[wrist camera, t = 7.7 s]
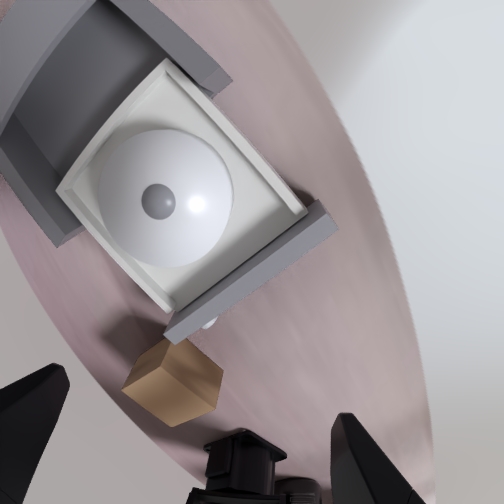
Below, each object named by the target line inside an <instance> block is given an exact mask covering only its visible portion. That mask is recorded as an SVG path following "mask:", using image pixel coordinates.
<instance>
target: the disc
mask: <svg viewBox="0 0 504 504" xmlns="http://www.w3.org/2000/svg"><path fill="white" fill-rule="evenodd" d="M98 200H99V208H100V212H101V216H102V219H103V222H104V224H105V226H106V228H107V230H108V232H109V234H110V235H111V237H112V238H113V240H114V241H115V242H116V243H117V245H118V246H119V247H121V248H122V249H123V250H124V251H125V252H126V253H127V254H129V255H130V256H132V257H133V258H135V259H137V260H139V261H141V262H143V263H146V264H149V265H152V266H157V267H168V268H169V267H179V266H183V265H187V264H189V263H192V262H194V261H196V260H198V259H200V258H201V257H203V256H204V255H205V254H207V253H208V252H209V251H210V250H211V249H212V248H213V247H214V245H215V244H216V243H217V242H218V240H219V238H220V237H221V235H222V233H223V231H224V229H225V227H226V225H227V223H228V221H229V218H230V216H231V212H232V208H233V201H234V190H233V182H232V179H231V175H230V172H229V170H228V167H227V165H226V163H225V162H224V160H223V158H222V157H221V155H220V154H219V153H218V152H217V150H216V149H215V148H214V147H213V146H211V145H210V144H209V143H208V142H206V141H205V140H204V139H202V138H200V137H198V136H197V135H194V134H192V133H189V132H186V131H181V130H172V129H169V130H153V131H147V132H143V133H140V134H137V135H135V136H133V137H131V138H129V139H128V140H126V141H125V142H123V143H122V144H121V145H120V146H119V147H118V148H117V149H116V150H115V151H114V152H113V153H112V155H111V156H110V157H109V159H108V161H107V162H106V164H105V166H104V169H103V171H102V174H101V178H100V182H99V190H98Z"/></svg>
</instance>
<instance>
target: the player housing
mask: <svg viewBox="0 0 504 504" xmlns="http://www.w3.org/2000/svg"><path fill="white" fill-rule="evenodd" d="M165 58H169V59H171V60H173V61H174V62H176V63H177V64H178V65H179V66H180V67H181V68H182V69H183V70H184V71H185V72H186V73H187V74H188V75H189V76H190V77H191V78H192V79H193V80H194V81H195V82H196V83H197V84H198V86H199V87H200V88H201V89H202V90H203V91H204V92H205V93H206V94H207V95H208V96H209V97H210V98H211V99H212V98H213V97H215V96H216V95H217V94H218V93H219V92H220V91H221V90H223V89H224V88H225V87H226V86H227V85H229V84H230V83H231V82H232V81H233V80H232V79H231V78H230V76H229V75H228V74H227V73H226V72H225V71H224V70H223V69H222V68H221V66H220V65H219V64H218V63H217V62H216V61H215V60H214V59H213V58H212V57H211V56H209V55H208V54H207V53H206V52H205V51H204V50H203V49H202V48H201V47H200V46H199V45H198V44H197V43H196V42H195V41H194V40H193V39H192V38H191V37H190V36H188V35H187V34H186V33H185V32H184V31H183V30H182V29H181V28H180V27H179V26H177V25H176V24H175V23H174V22H173V21H172V20H171V19H170V18H168V17H167V16H166V15H165V14H164V13H163V12H162V11H160V10H159V9H158V8H157V7H156V6H154V5H153V4H152V3H151V2H150V1H148V0H16V1H15V3H14V4H13V5H12V7H11V8H10V9H9V11H8V12H7V14H6V15H5V17H4V18H3V19H2V21H1V22H0V172H1V173H2V175H3V177H4V178H5V180H6V181H7V182H8V184H9V185H10V187H11V188H12V190H13V191H14V193H15V194H16V196H17V197H18V198H19V200H20V201H21V203H22V204H23V205H24V207H25V208H26V209H27V211H28V212H29V213H30V215H31V216H32V217H33V219H34V220H35V221H36V223H37V224H38V225H39V226H40V228H41V229H42V230H43V232H44V233H45V234H46V235H47V237H48V238H49V239H50V240H51V241H52V243H53V244H54V245H55V246H56V248H58V247H59V246H61V245H62V244H64V243H65V242H67V241H68V240H70V239H71V238H73V237H74V236H76V235H78V234H79V233H81V232H82V231H84V230H85V229H86V227H85V226H84V225H83V224H82V223H81V222H80V220H79V219H78V218H77V217H76V216H75V214H74V213H73V212H72V211H71V210H70V208H69V207H68V206H67V205H66V204H65V202H64V201H63V200H62V199H61V197H60V196H59V195H58V194H57V192H56V191H55V190H56V189H57V187H58V186H59V184H60V183H61V181H62V180H63V178H64V177H65V175H66V174H67V172H68V171H69V170H70V168H71V167H72V165H73V164H74V162H75V161H76V160H77V158H78V157H79V156H80V154H81V153H82V152H83V150H84V149H85V148H86V146H87V145H88V144H89V142H90V141H91V140H92V138H93V137H94V136H95V135H96V133H97V132H98V131H99V130H100V128H101V127H102V126H103V125H104V123H105V122H106V121H107V120H108V119H109V117H110V116H111V115H112V114H113V113H114V112H115V110H116V109H117V108H118V107H119V106H120V105H121V104H122V103H123V101H124V100H125V99H126V98H127V97H128V96H129V95H130V94H131V93H132V92H133V91H134V89H135V88H136V87H137V86H138V85H139V84H140V83H141V82H142V81H143V80H144V79H145V78H146V77H147V76H148V75H149V74H150V73H151V72H152V71H153V70H154V69H155V68H156V67H157V66H158V65H159V64H160V63H161V62H162V61H163V60H164V59H165Z"/></svg>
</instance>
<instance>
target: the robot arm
mask: <svg viewBox="0 0 504 504" xmlns="http://www.w3.org/2000/svg"><path fill="white" fill-rule="evenodd" d="M69 387H70V382H69V380H68V377H67V374H66V372H65V369H64V367H63V366H61V365H59V364H56V363H51V364H49V365H47V366H45V367H43V368H42V369H39V370H37V371H35V372H33V373H32V374H30V375H28V376H26V377H24V378H22V379H20V380H18V381H16V382H14V383H12V384H10V385H8V386H6V387H4V388H2V389H0V504H22V503H23V501H24V498H25V495H26V493H27V490H28V488H29V485H30V483H31V480H32V478H33V475H34V473H35V470H36V468H37V466H38V463H39V461H40V458H41V456H42V454H43V452H44V449H45V447H46V445H47V443H48V441H49V438H50V436H51V434H52V432H53V430H54V428H55V425H56V423H57V421H58V418H59V415H60V413H61V410H62V407H63V404H64V401H65V399H66V396H67V393H68V391H69ZM203 450H204V451H205V452H207V453H209V458H208V463H207V468H206V473H205V477H207V483H206V489H205V490H203V489H199V488H195V487H193V488H192V491H191V492H190V493H189V497H188V499H187V502H186V504H286V494H280V495H274V479H275V462H278V461H281V460H284V459H286V458H287V454H286V453H285V452H283V451H281V450H280V449H278V448H276V447H275V446H273V445H271V444H270V443H268V442H267V441H265V440H263V439H262V438H260V437H259V436H257V435H255V434H254V433H252V432H250V431H244V432H241V433H239V434H236V435H233V436H231V437H228V438H225V439H222V440H219V441H216V442H213V443H210V444H207V445H205V446H204V449H203ZM330 475H331V486H332V496H333V504H426V503H425V502H424V501H423V500H422V498H421V497H420V496H419V495H418V494H417V493H416V491H415V490H414V489H412V487H411V485H410V484H409V483H408V482H407V480H406V479H405V478H404V477H403V476H402V474H401V473H400V472H399V471H398V469H397V468H396V467H395V466H394V464H393V463H392V462H391V461H390V460H389V458H388V457H387V456H386V455H385V453H384V452H383V451H382V450H381V448H380V447H379V446H378V445H377V443H376V442H375V441H374V440H373V438H372V437H371V436H370V435H369V433H368V432H367V431H366V430H365V428H364V427H363V426H362V424H361V423H360V422H359V421H358V419H357V418H356V417H355V416H354V414H352V413H339V414H338V416H337V418H336V420H335V422H334V424H333V426H332V429H331V465H330Z"/></svg>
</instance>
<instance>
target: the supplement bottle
mask: <svg viewBox="0 0 504 504" xmlns="http://www.w3.org/2000/svg"><path fill="white" fill-rule="evenodd" d="M280 494H286V504H322V498H321V486H320V484H319V483H318V482H316V481H314V480H310V479H287V480H282V481H278V482H276V483H274V495H280Z"/></svg>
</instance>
